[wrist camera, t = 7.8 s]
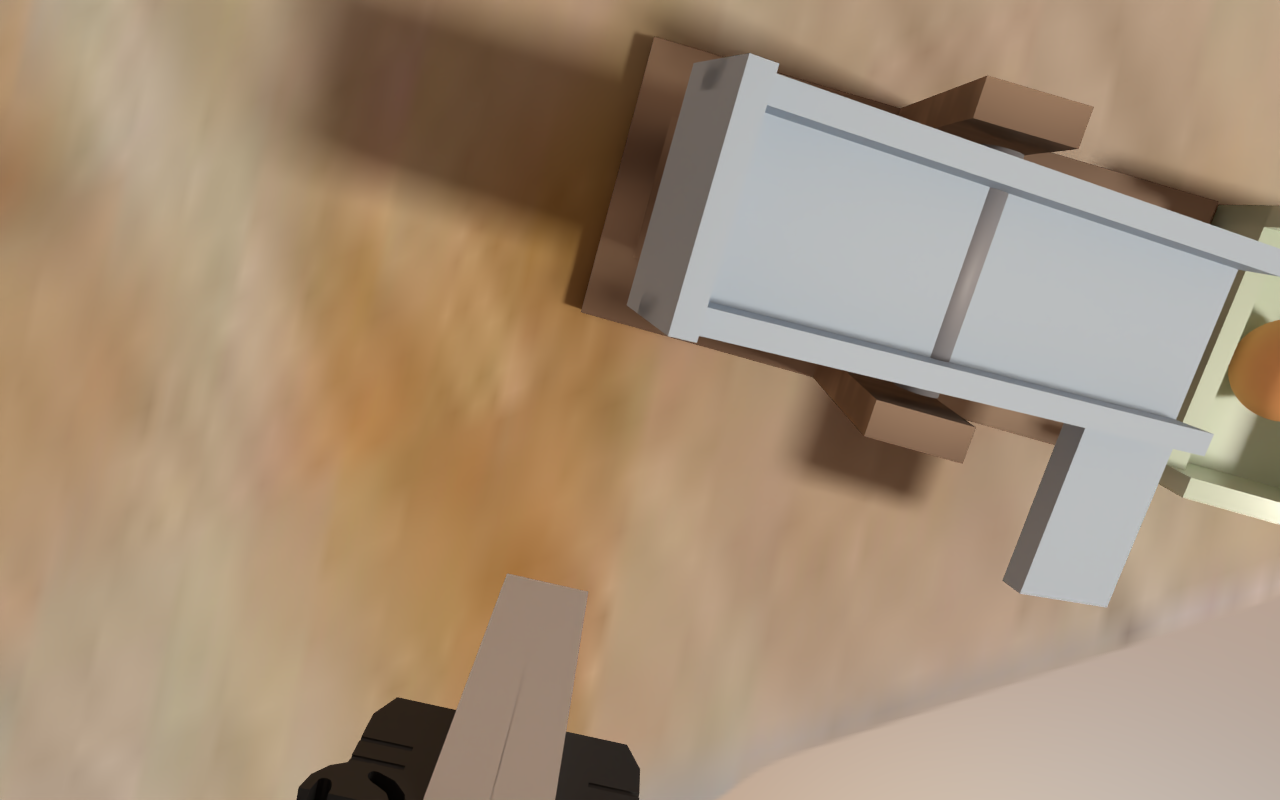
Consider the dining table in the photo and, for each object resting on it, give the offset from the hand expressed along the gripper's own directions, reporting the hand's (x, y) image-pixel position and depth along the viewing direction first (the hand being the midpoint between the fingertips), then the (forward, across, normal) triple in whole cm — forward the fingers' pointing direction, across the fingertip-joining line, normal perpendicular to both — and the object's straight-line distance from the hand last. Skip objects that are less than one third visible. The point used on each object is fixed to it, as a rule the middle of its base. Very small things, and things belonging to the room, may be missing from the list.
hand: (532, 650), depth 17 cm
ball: (+20, +26, +7) cm, 34 cm away
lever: (+15, +10, +5) cm, 19 cm away
